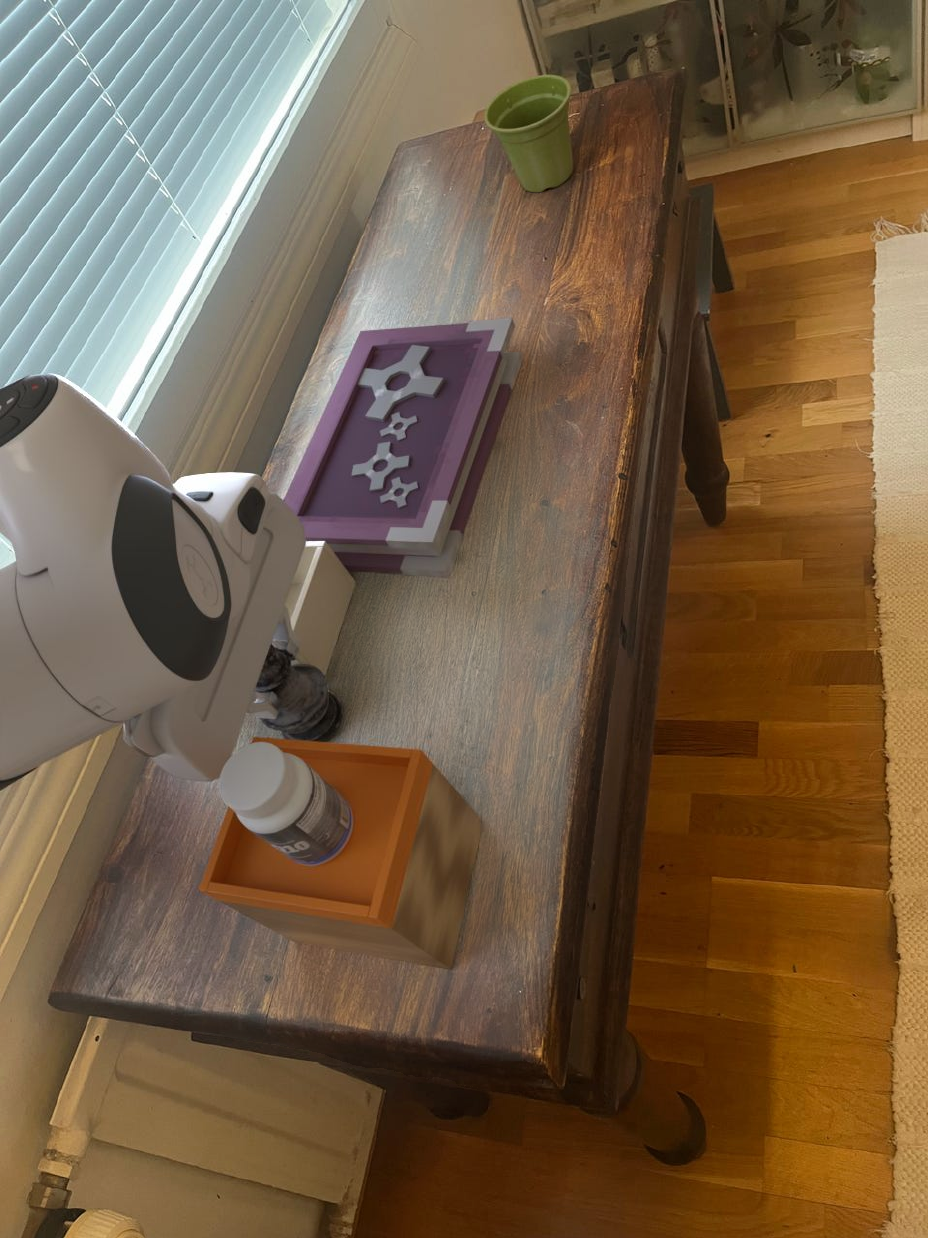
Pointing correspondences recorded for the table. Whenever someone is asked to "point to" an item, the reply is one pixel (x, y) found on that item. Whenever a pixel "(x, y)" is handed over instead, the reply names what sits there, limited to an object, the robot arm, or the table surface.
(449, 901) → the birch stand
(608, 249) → the table surface
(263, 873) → the amber tray
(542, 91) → the plant pot
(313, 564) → the cream bin
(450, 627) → the table surface
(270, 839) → the pill bottle
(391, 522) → the book
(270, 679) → the chess bishop
